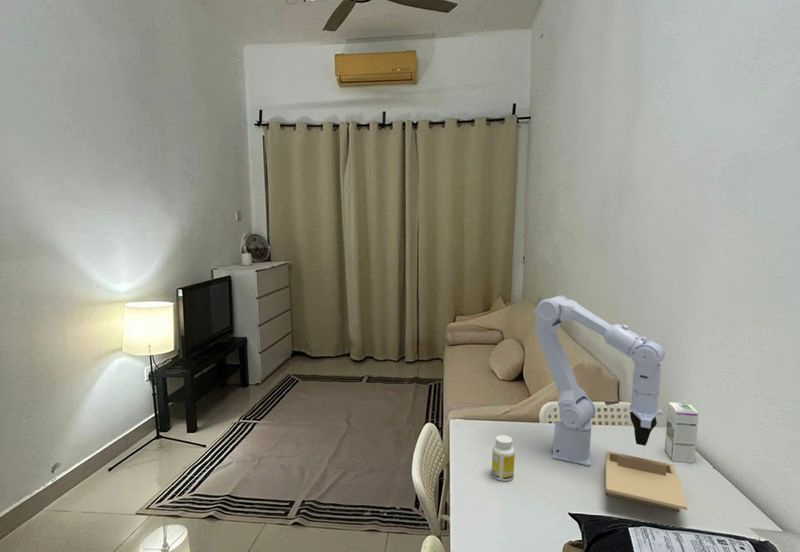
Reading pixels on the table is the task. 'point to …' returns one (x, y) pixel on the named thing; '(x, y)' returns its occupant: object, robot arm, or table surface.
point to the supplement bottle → (503, 459)
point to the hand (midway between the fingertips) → (640, 443)
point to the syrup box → (681, 432)
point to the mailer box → (614, 457)
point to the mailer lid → (644, 481)
